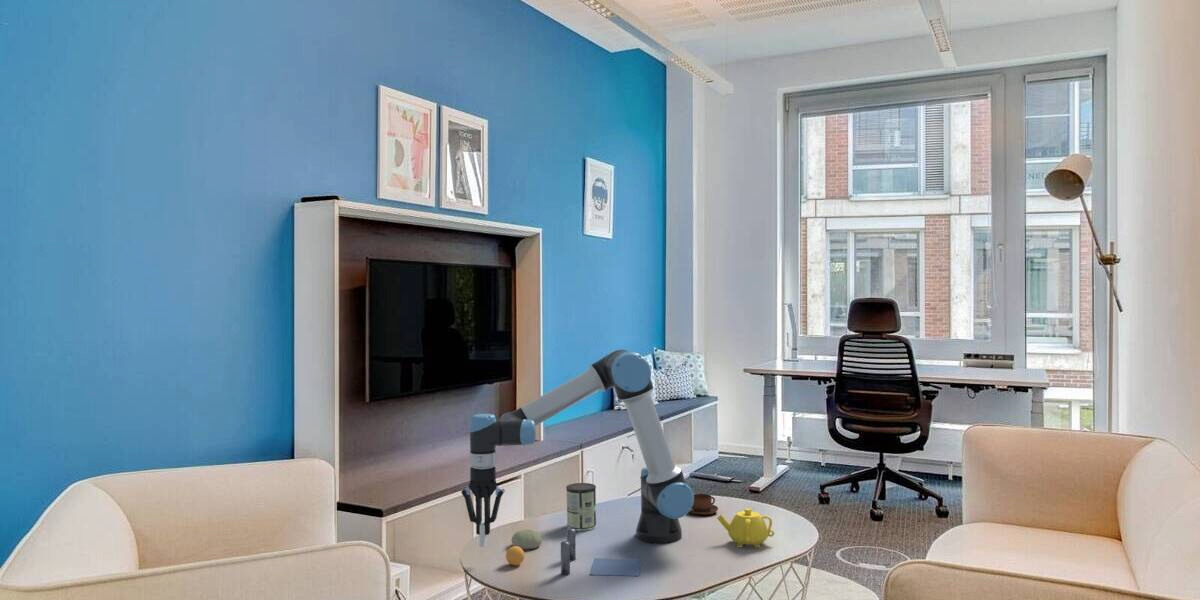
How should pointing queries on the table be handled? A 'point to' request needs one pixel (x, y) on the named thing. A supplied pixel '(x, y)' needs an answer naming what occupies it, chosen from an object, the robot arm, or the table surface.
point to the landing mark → (615, 567)
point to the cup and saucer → (703, 505)
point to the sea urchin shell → (526, 539)
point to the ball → (515, 555)
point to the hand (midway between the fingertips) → (483, 545)
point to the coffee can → (581, 506)
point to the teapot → (748, 527)
